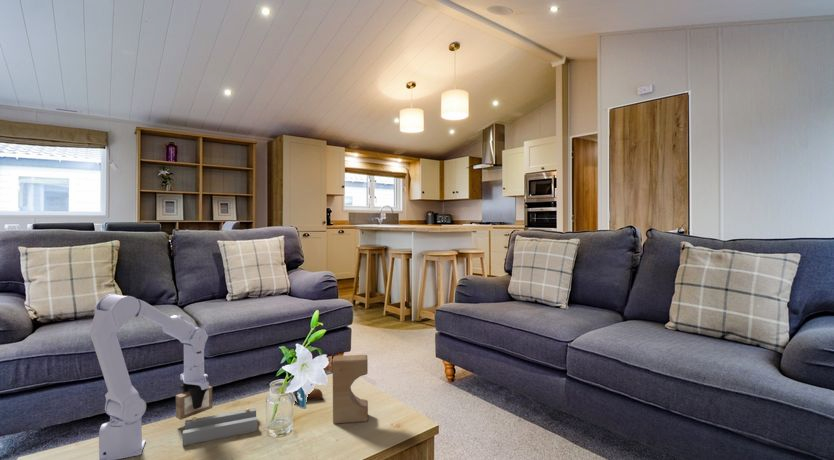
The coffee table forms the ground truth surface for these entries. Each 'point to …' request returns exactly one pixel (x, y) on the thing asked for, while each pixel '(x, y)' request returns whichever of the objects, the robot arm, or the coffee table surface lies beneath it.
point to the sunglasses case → (315, 395)
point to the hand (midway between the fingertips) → (194, 406)
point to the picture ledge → (219, 426)
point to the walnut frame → (191, 404)
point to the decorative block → (348, 389)
